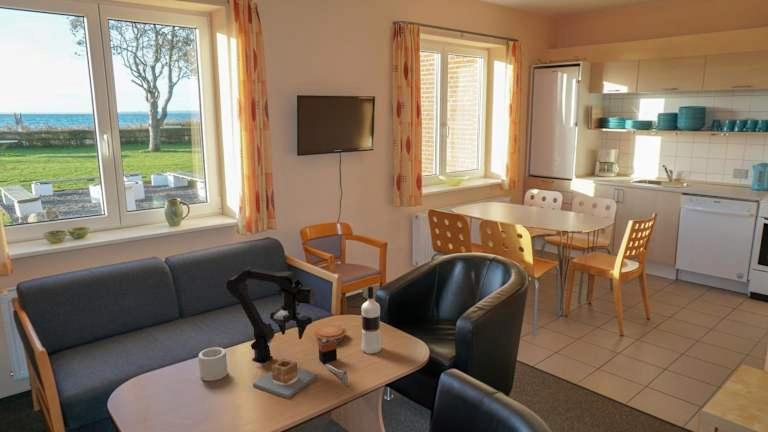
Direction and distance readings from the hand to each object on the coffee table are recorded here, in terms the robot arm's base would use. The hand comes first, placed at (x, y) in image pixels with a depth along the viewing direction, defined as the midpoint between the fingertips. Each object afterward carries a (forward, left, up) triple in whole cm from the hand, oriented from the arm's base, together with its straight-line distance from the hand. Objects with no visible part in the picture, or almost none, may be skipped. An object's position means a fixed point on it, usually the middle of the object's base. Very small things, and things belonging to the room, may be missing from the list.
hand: (291, 336), depth 222 cm
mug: (-23, -24, -12) cm, 36 cm away
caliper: (+23, 0, -12) cm, 26 cm away
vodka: (+23, +27, -12) cm, 38 cm away
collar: (+8, -14, -10) cm, 19 cm away
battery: (+12, +9, -12) cm, 19 cm away
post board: (+8, -14, -12) cm, 20 cm away
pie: (0, +27, -12) cm, 30 cm away
